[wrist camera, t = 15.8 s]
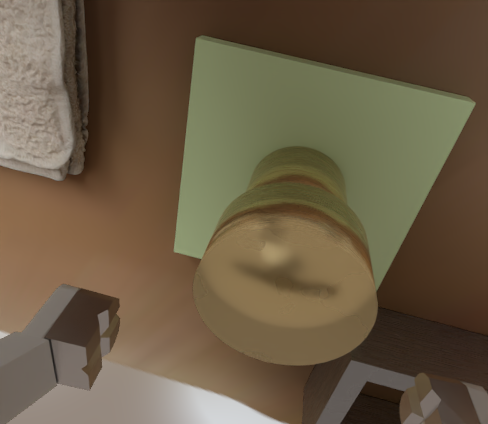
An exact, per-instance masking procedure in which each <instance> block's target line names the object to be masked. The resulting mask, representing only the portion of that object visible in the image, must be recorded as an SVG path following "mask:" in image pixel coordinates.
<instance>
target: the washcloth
mask: <svg viewBox="0 0 488 424" xmlns="http://www.w3.org/2000/svg"><path fill="white" fill-rule="evenodd" d="M85 32H86V29H85V13H84V0H0V165H1V166H4V167H8V168H11V169H14V170H19V171H23V172H28V173H31V174H37V175H40V176H45V177H48V178H51V179H53V180H56V181H63V180H64V179H65V178H66V174H67V173H69V174H73V175H77V174H80V173H81V172H82V171H83V169H84V161H85V158H84V155H83V152H84V151H86V149H85V148H84V146H85V144H86V142H87V139H88V130H87V129H86V128H85V126H86V125H87V124H88V119H87V113H88V110H89V96H88V94H89V91H88V71H87V69H88V66H87V65H88V63H87V54H86V35H85ZM79 93H80V94H79Z"/></svg>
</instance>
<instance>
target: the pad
mask: <svg viewBox="0 0 488 424" xmlns="http://www.w3.org/2000/svg"><path fill="white" fill-rule="evenodd" d="M475 104H476V103H475V102H474V101H473V100H471V99H470V98H469V97H466V96H462V95H457V94H453V93H449V92H445V91H440V90H436V89H432V88H427V87H423V86H419V85H414V84H410V83H406V82H402V81H397V80H393V79H389V78H384V77H380V76H376V75H371V74H367V73H363V72H358V71H354V70H350V69H346V68H341V67H337V66H333V65H328V64H324V63H320V62H315V61H311V60H307V59H303V58H298V57H294V56H290V55H285V54H281V53H277V52H272V51H268V50H264V49H259V48H255V47H251V46H247V45H242V44H238V43H234V42H229V41H225V40H221V39H216V38H212V37H208V36H204V35H201V36H199V37H197V38H196V42H195V51H194V61H193V71H192V80H191V90H190V99H189V109H188V119H187V128H186V138H185V148H184V157H183V167H182V176H181V186H180V196H179V205H178V215H177V225H176V234H175V244H174V252H177V253H180V254H184V255H188V256H192V257H195V258H199V259H202V257H203V255H204V253H205V250H206V248H207V246H208V244H209V241H210V239H211V237H212V235H213V232H214V230H215V228H216V226H217V223H218V221H219V219H220V217H221V215H222V213H223V212H224V210H225V209H226V208H227V207H228V205H229V204H230V203H231V202H232V201H234V200H235V199H236V198H237V197H238V196H240V195H242V194H243V193H245V192H246V190H247V187H248V184H249V182H250V179H251V176H252V174H253V172H254V169H255V168H256V166H257V165H258V163H259V162H260V161H261V160H262V159H263V158H264V157H266V156H267V155H268V154H270V153H272V152H274V151H276V150H278V149H281V148H285V147H291V146H303V147H309V148H312V149H315V150H318V151H320V152H322V153H324V154H325V155H327V156H328V157H330V158H331V159H332V160H333V161H334V162H335V163H336V164H337V166H338V167H339V169H340V170H341V172H342V174H343V177H344V180H345V186H346V195H347V205H348V206H349V207H350V208H351V209H352V210H353V211H354V212H355V214H356V215H357V217H358V218H359V219H360V221H361V223H362V225H363V227H364V229H365V232H366V235H367V240H368V246H369V252H370V258H371V264H372V270H373V276H374V282H375V288H376V291H377V290H378V288H379V286H380V284H381V282H382V280H383V278H384V276H385V274H386V273H387V271H388V269H389V267H390V265H391V263H392V261H393V259H394V257H395V256H396V254H397V252H398V250H399V248H400V246H401V244H402V242H403V240H404V239H405V237H406V235H407V233H408V231H409V229H410V227H411V225H412V223H413V222H414V220H415V218H416V216H417V214H418V212H419V210H420V208H421V206H422V205H423V203H424V201H425V199H426V197H427V195H428V193H429V191H430V189H431V188H432V186H433V184H434V182H435V180H436V178H437V176H438V174H439V172H440V171H441V169H442V167H443V165H444V163H445V161H446V159H447V157H448V155H449V154H450V152H451V150H452V148H453V146H454V144H455V142H456V140H457V138H458V137H459V135H460V133H461V131H462V129H463V127H464V125H465V123H466V121H467V120H468V118H469V116H470V114H471V112H472V110H473V108H474V106H475Z"/></svg>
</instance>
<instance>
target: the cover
mask: <svg viewBox="0 0 488 424" xmlns="http://www.w3.org/2000/svg"><path fill="white" fill-rule="evenodd" d="M193 297H194V302H195V305H196V308H197V311H198V313H199V315H200V317H201V318H202V320H203V322H204V323H205V324H206V326H207V327H208V328H209V329H210V330H211V331H212V332H213V333H214V334H215V335H216V336H217V337H218V338H219V339H220V340H221V341H223V342H224V343H225V344H227V345H228V346H230V347H231V348H233V349H235V350H237V351H239V352H240V353H242V354H245V355H247V356H249V357H252V358H255V359H258V360H261V361H265V362H269V363H273V364H280V365H292V366H302V365H313V364H319V363H324V362H327V361H331V360H334V359H336V358H339V357H341V356H343V355H345V354H347V353H349V352H350V351H352V350H353V349H355V348H356V347H357V346H358V345H360V344H361V343H362V342H363V341H364V340H365V338H366V337H367V336H368V334H369V333H370V331H371V330H372V328H373V326H374V323H375V321H376V316H377V310H378V301H377V294H376V288H375V282H374V276H373V270H372V264H371V258H370V252H369V246H368V240H367V235H366V232H365V229H364V227H363V225H362V223H361V221H360V219H359V218H358V217H357V215H356V214H355V212H354V211H353V210H352V209H351V208H350V207H349V206H348V205H347V195H346V186H345V180H344V177H343V174H342V172H341V170H340V169H339V167H338V166H337V164H336V163H335V162H334V161H333V160H332V159H331V158H330V157H328V156H327V155H325V154H324V153H322V152H320V151H318V150H315V149H312V148H309V147H303V146H291V147H285V148H281V149H278V150H276V151H274V152H272V153H270V154H268V155H267V156H266V157H264V158H263V159H262V160H261V161H260V162H259V163H258V165H257V166H256V168H255V169H254V172H253V174H252V176H251V179H250V182H249V184H248V187H247V190H246V192H245V193H243V194H242V195H240V196H238V197H237V198H236V199H235V200H234V201H232V202H231V203H230V204H229V205H228V207H227V208H226V209H225V210H224V212H223V213H222V215H221V217H220V219H219V221H218V223H217V226H216V228H215V230H214V232H213V235H212V237H211V239H210V241H209V244H208V246H207V248H206V250H205V253H204V255H203V257H202V259H201V262H200V264H199V266H198V268H197V271H196V273H195V277H194V281H193Z"/></svg>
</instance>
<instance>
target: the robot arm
mask: <svg viewBox="0 0 488 424" xmlns="http://www.w3.org/2000/svg"><path fill="white" fill-rule="evenodd" d="M119 307H120V304H119V299H118V298H115V297H111V296H108V295H104V294H100V293H97V292H93V291H89V290H86V289H82V288H78V287H74V286H70V285H66V284H62V285H61V286H59V287H58V288H57V289H56V290H55V291H54V292H53V294H52V295H51V296H50V297H49V299H48V300H47V301H46V303H45V304H44V305H43V306H42V308H41V309H40V310H39V311H38V313H37V314H36V315H35V316H34V318H33V319H32V320H31V321H30V323H29V324H28V325H27V326H26V328H25V329H24V330H23V331H22V333H20V332H14V333H12V334H10V335H8V336H6V337H4V338H2V339H0V424H6V423H7V422H9V421H10V420H12V419H13V418H14V417H16V416H17V415H18V414H20V413H21V412H22V411H24V410H25V409H26V408H28V407H29V406H30V405H32V404H33V403H34V402H35V401H37V400H38V399H40V398H41V397H42V396H44V395H45V394H46V393H48V392H49V391H50V390H52V389H53V388H54V387H56V386H57V384H62V385H67V386H71V387H75V388H80V389H85V390H90V389H91V387H92V385H93V383H94V381H95V380H96V378H97V376H98V374H99V372H100V370H101V368H102V357H103V356H105V355H106V354H108V353H110V351H111V349H112V347H113V345H114V343H115V340H116V337H117V334H118V331H119V326H120V318H119V316H118V315H117V314H116V313H117V311H118V309H119ZM414 381H415V385H416V386H413V387H410V388H407V389H406V391H405V392H404V393H403V395H402V397H401V401H400V419H401V424H488V394H487V392H486V391H485V390H484V388H483V387H481V386H477V385H473V384H469V383H465V382H460V381H459V380H454V379H450V378H446V377H441V376H437V375H433V374H428V373H424V372H423V373H420V374H418V375H417V376H416V378H415V379H414Z"/></svg>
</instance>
